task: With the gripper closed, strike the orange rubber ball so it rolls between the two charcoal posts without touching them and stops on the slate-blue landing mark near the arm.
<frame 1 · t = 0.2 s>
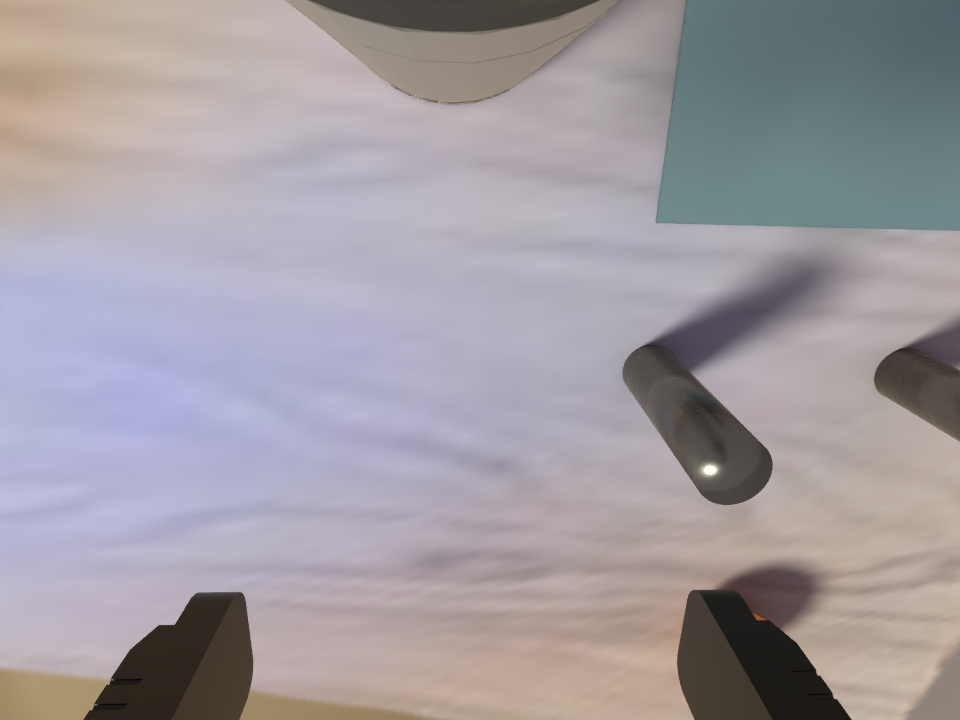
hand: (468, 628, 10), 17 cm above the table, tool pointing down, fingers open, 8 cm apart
landing mark: (852, 48, 23), on the table
post 1: (900, 373, 28), on the table
post 2: (649, 370, 28), on the table
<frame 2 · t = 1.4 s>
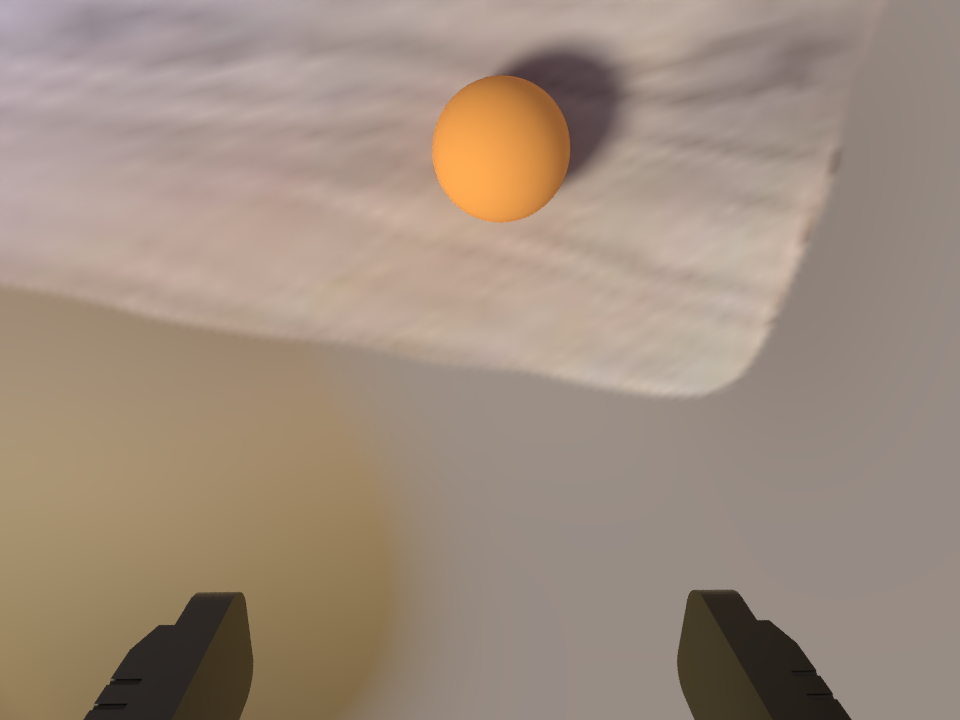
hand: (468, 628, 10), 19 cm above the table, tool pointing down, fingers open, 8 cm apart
ball: (501, 151, 23), on the table
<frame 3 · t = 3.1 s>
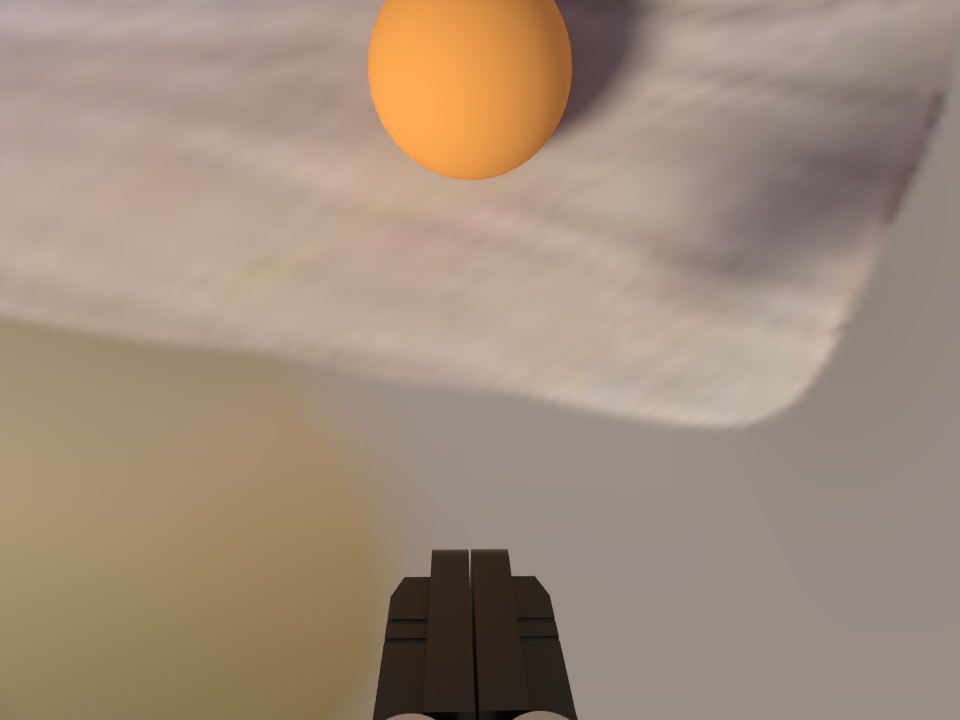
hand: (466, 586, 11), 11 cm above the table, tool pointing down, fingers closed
ball: (470, 74, 16), on the table
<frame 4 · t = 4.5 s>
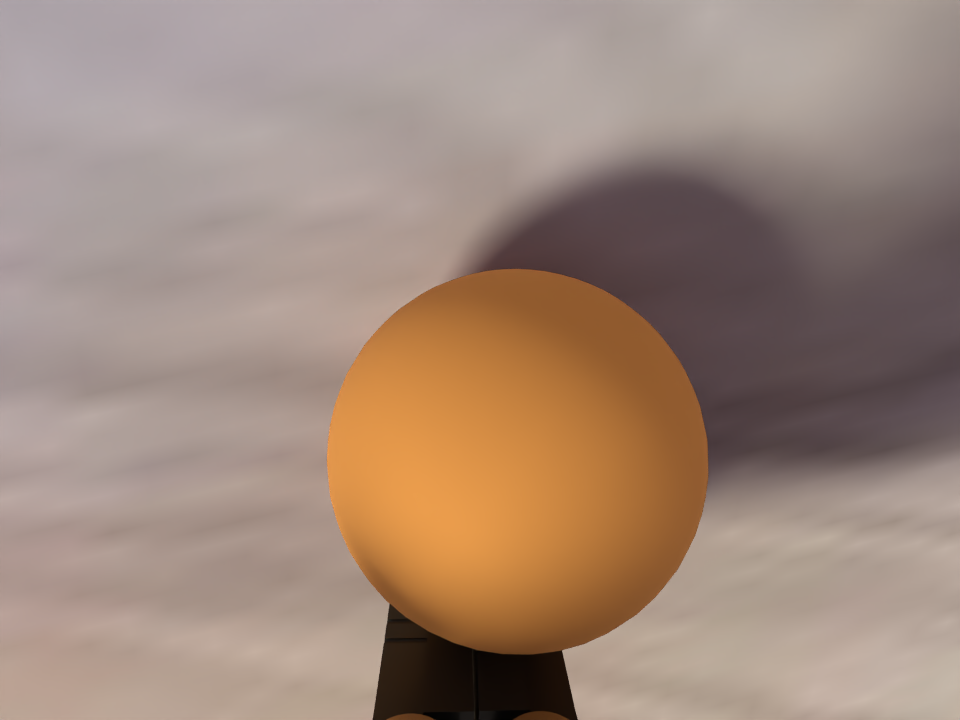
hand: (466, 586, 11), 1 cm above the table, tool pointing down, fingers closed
ball: (514, 451, 9), on the table
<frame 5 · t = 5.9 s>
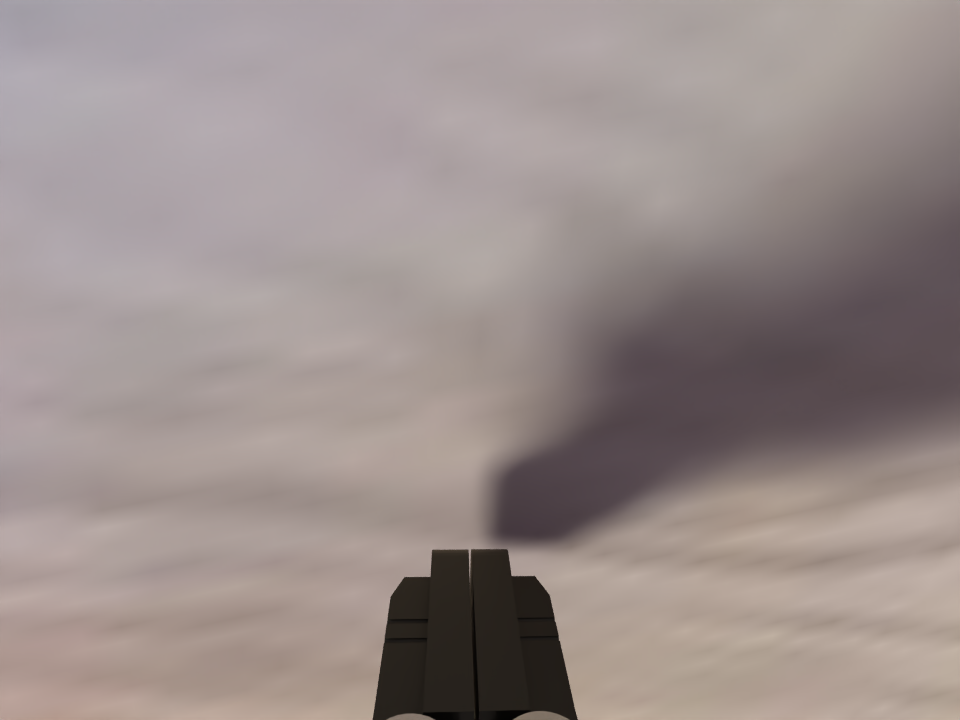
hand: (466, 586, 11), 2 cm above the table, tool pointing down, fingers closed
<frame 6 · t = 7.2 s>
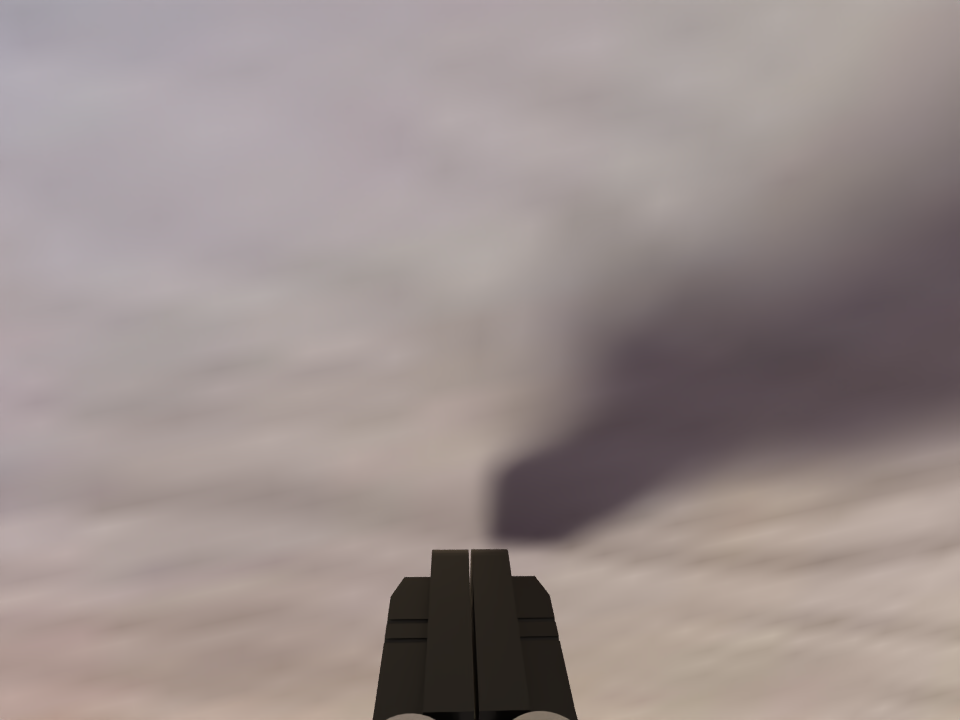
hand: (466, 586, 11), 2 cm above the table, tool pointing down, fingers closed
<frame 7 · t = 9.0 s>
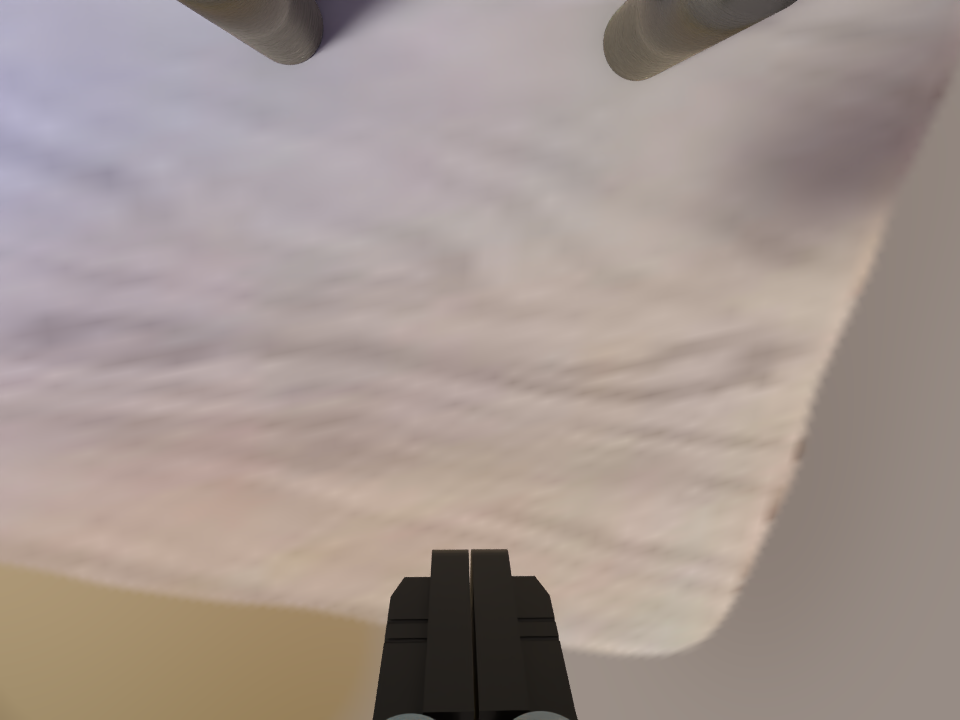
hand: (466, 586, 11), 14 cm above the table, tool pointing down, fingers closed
post 1: (639, 41, 21), on the table
post 2: (285, 23, 20), on the table
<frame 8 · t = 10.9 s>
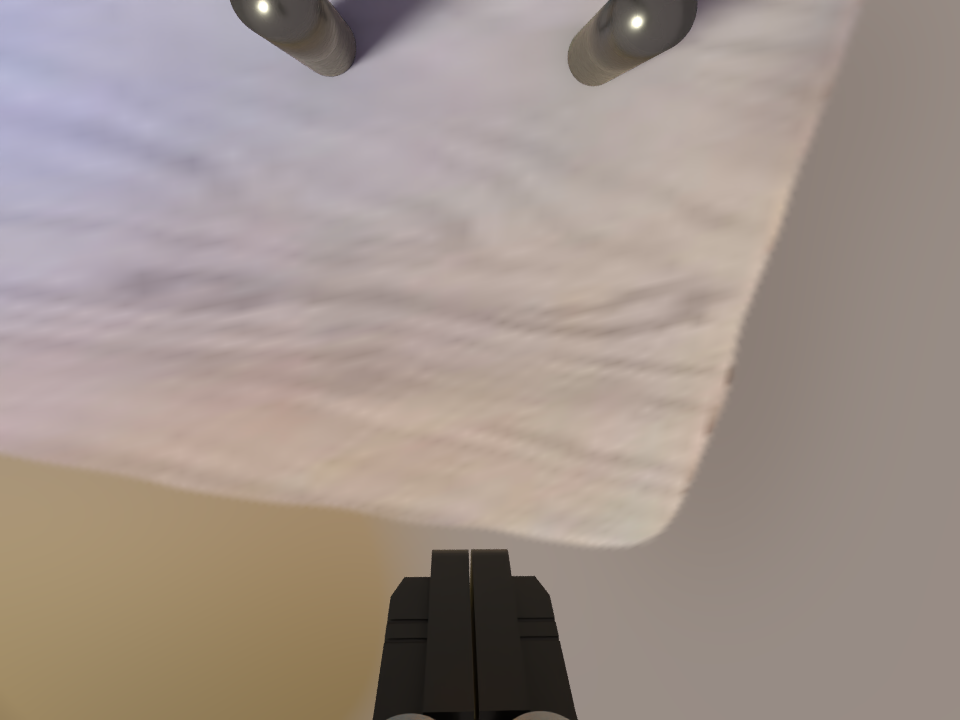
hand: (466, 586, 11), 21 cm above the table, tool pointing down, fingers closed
post 1: (594, 56, 27), on the table
post 2: (327, 45, 27), on the table
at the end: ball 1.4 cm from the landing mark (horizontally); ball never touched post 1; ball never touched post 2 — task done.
